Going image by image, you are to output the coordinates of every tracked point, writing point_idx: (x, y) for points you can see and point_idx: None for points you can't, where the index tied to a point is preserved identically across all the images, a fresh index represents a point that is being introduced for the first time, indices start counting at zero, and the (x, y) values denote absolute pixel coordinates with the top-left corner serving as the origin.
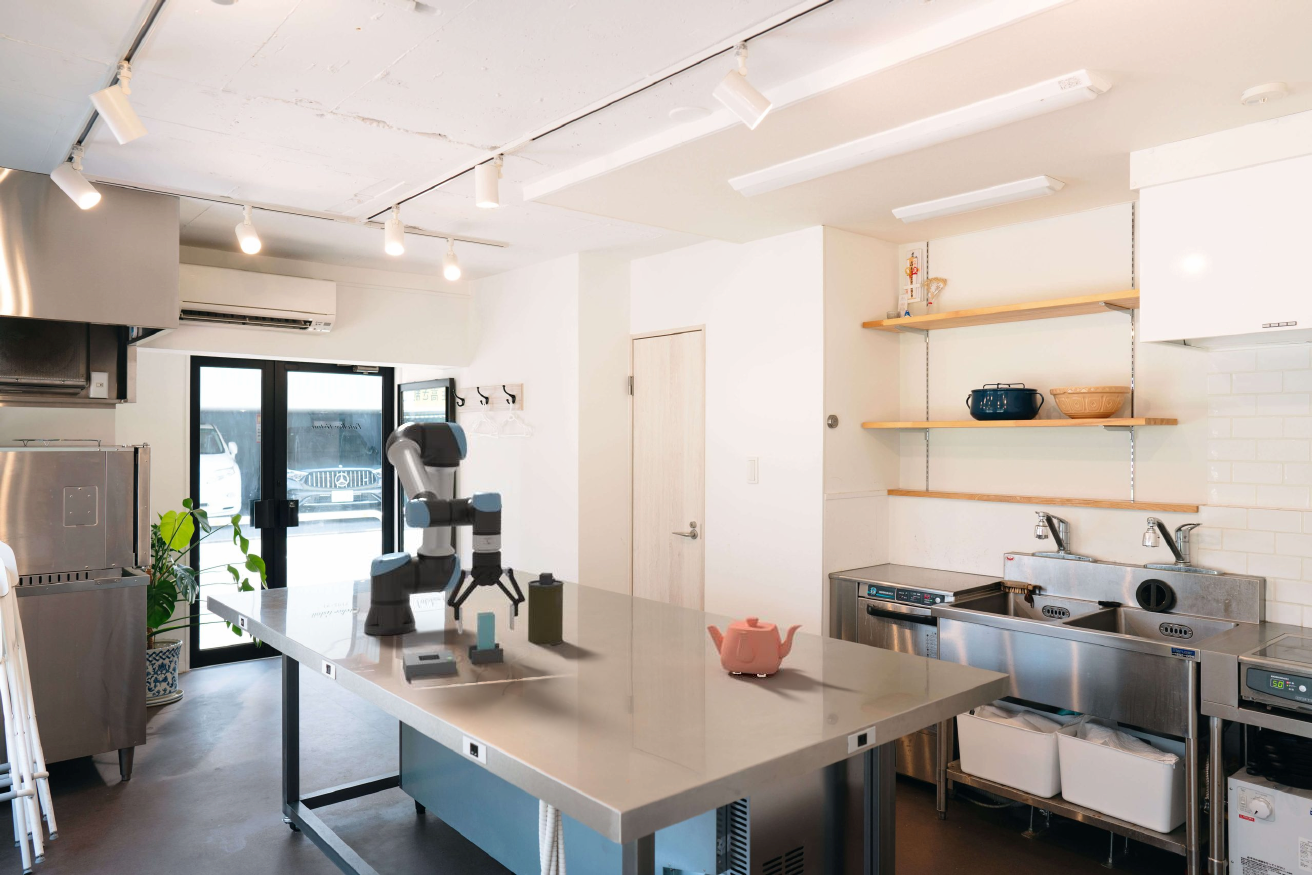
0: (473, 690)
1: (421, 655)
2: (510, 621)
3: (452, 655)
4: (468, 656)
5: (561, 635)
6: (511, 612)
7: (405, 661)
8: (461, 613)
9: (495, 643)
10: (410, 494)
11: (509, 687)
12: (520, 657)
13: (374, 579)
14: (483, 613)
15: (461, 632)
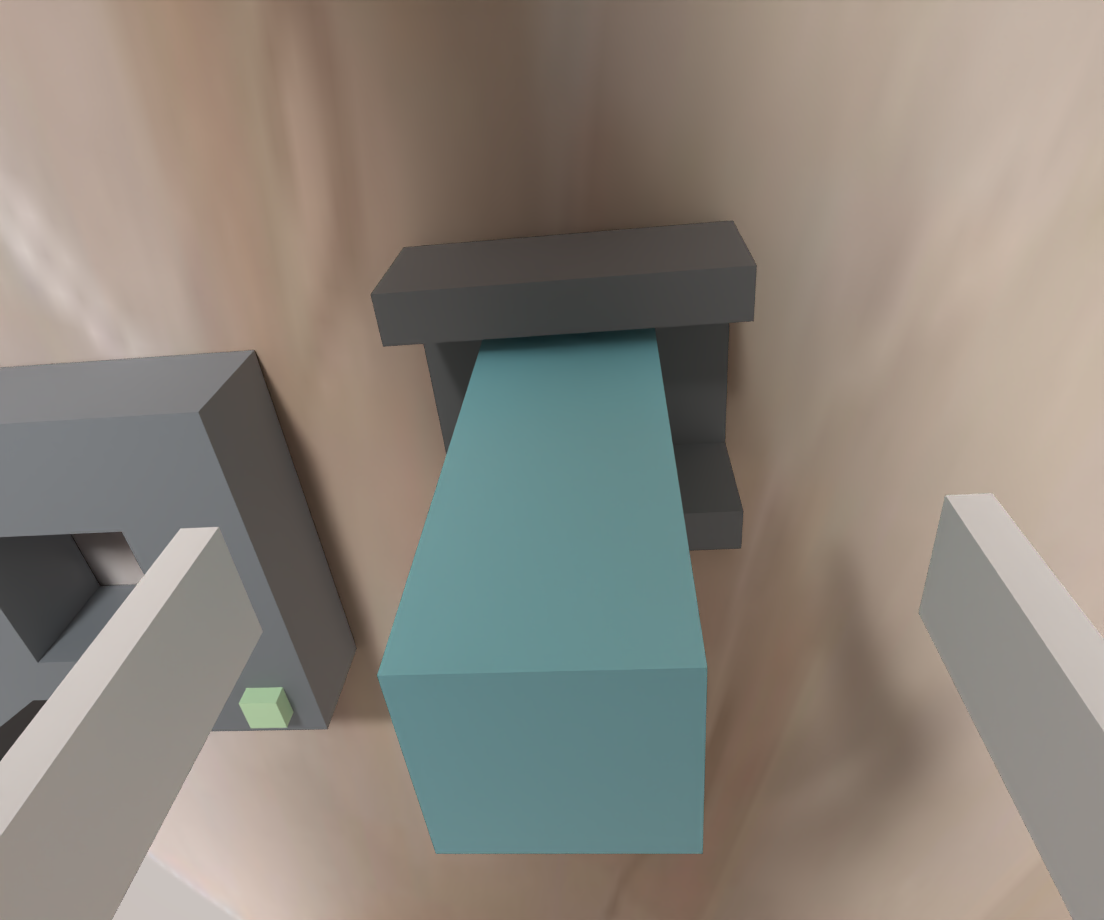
0: (475, 856)
1: None
2: (980, 633)
3: (264, 590)
4: (402, 252)
5: None
6: (1043, 849)
7: None
8: (109, 895)
9: (711, 282)
10: None
11: (656, 860)
12: (948, 287)
13: None
14: (505, 726)
15: (247, 643)
